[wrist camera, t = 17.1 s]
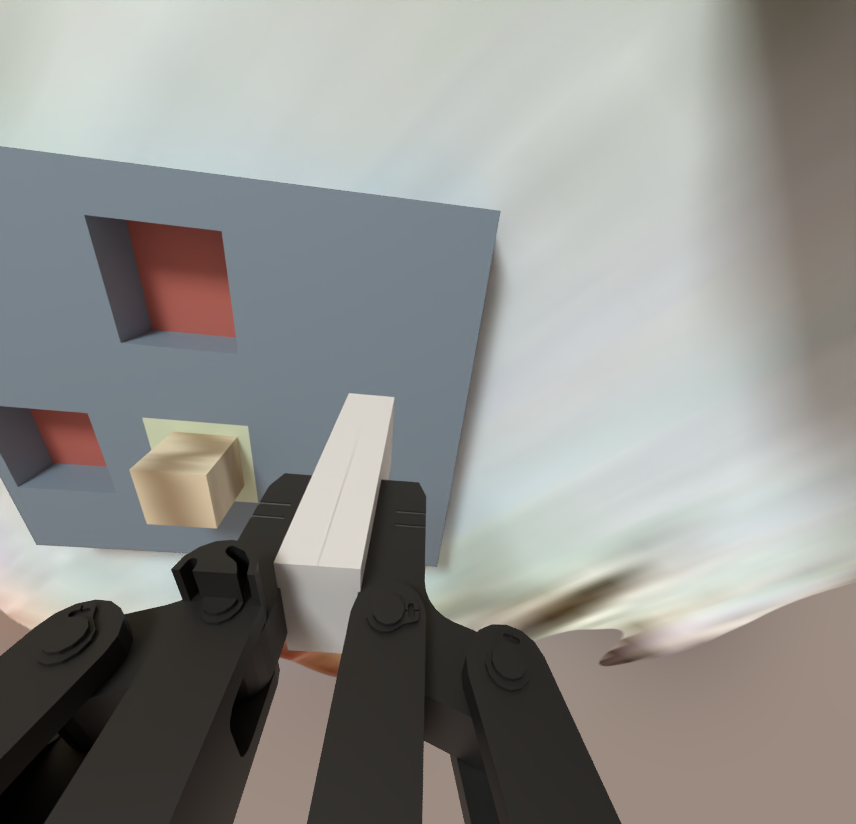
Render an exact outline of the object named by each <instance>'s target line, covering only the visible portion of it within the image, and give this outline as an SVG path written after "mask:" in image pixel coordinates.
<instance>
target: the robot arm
mask: <svg viewBox="0 0 856 824" xmlns="http://www.w3.org/2000/svg"><path fill="white" fill-rule="evenodd" d="M394 398H395V397H388V396H376V395H364V394H353V393H349V394H348V396H347V399H346V401H345V403H344V405H343V408H342V410H341V412H340V414H339V417H338V419H337V421H336V423H335V426H334V428H333V430H332V432H331V435H330V437H329V439H328V441H327V444H326V446H325V448H324V450H323V453H322V455H321V457H320V459H319V462H318V464H317V466H316V468H315V471H314V473H313V475H302V474H289V473H284V474H283V475H282V476H281V477H279V478H278V479H277V480H276V481H274V482H273V483H272V484H271V485H269V487H268V489H267V490H266V492H265V494H264V495H263V497H262V499H261V501H260V504H258V506H257V507H256V509H255V511H254V513H253V516H252V518H250V519H249V521H248V523H247V525H246V526H245V528H244V530H243V532H242V533H241V535H240V537H239V538H238V540H237V541H236V540H222V541H215V542H212V543H209V544H206V545H203V546H200V547H198V548H197V549H195V550H193V551H192V552H190V553H189V554H187V555H185V556H184V557H183V558H182V559H181V560H180V561H179V562H178V563H177V564H176V565H175V566H174V567H173V568H172V569H171V570H172V573H173V575H174V578H175V581H176V583H177V586H178V589H179V591H180V594H181V596H182V599H183V600H181V601H178V602H175V603H172V604H168V605H165V606H160V607H156V608H151V609H147V610H142V611H138V612H133V613H129V614H123V612H122V610H121V608H120V607H118V606H117V605H116V604H114V603H113V602H112V601H104V600H92V601H87V602H82V603H78V604H75V605H73V606H71V607H68V608H66V609H64V610H62V611H59V612H57V613H55V614H54V615H52V616H51V617H49V618H48V619H46V620H45V621H43V622H42V623H41V624H39V625H38V626H36V627H35V628H34V629H32V630H31V631H30V632H29V633H28V634H26V635H25V636H24V637H23V638H22V639H21V640H19V641H18V642H17V643H16V644H14V645H13V646H12V647H11V648H9V649H8V650H7V651H6V652H5V653H3V654H2V655H1V656H0V824H233V822H234V819H235V815H236V812H237V809H238V806H239V803H240V800H241V797H242V793H243V791H244V787H245V784H246V781H247V778H248V775H249V772H250V769H251V766H252V763H253V759H254V756H255V753H256V750H257V747H258V744H259V741H260V737H261V734H262V731H263V728H264V725H265V722H266V719H267V716H268V713H269V709H270V706H271V703H272V700H273V697H274V694H275V691H276V688H277V685H278V679H279V672H280V669H279V664H278V660H279V657H280V654H281V651H282V648H283V645H284V642H285V639H287V645H288V650H294V651H311V652H327V653H342V655H341V660H340V665H339V670H338V675H337V680H336V685H335V690H334V694H333V700H332V704H331V709H330V714H329V719H328V723H327V728H326V733H325V739H324V743H323V748H322V753H321V758H320V763H319V768H318V773H317V777H316V782H315V787H314V792H313V797H312V802H311V806H310V811H309V816H308V821H307V824H422V800H423V798H422V797H423V748H424V746H423V745H424V744H423V743H424V741H426V742H428V743H430V744H432V745H434V746H436V747H437V748H439V749H441V750H443V751H445V752H447V753H449V754H450V757H451V762H452V766H453V771H454V775H455V780H456V785H457V789H458V794H459V799H460V803H461V808H462V813H463V818H464V822H465V824H621V822H620V820H619V818H618V815H617V813H616V811H615V809H614V807H613V805H612V802H611V800H610V799H609V796H608V794H607V792H606V789H605V787H604V785H603V783H602V781H601V779H600V776H599V774H598V772H597V770H596V768H595V766H594V763H593V761H592V759H591V757H590V755H589V753H588V751H587V748H586V746H585V744H584V742H583V740H582V738H581V735H580V733H579V731H578V729H577V727H576V725H575V722H574V720H573V718H572V716H571V714H570V712H569V710H568V707H567V705H566V703H565V701H564V699H563V696H562V694H561V692H560V690H559V688H558V686H557V684H556V681H555V679H554V677H553V675H552V673H551V671H550V668H549V666H548V664H547V662H546V660H545V657H544V656H543V654H542V653H541V652H540V650H539V648H538V647H537V645H536V644H535V642H534V641H533V640H531V639H530V638H529V637H528V636H527V635H526V634H524V633H523V632H522V631H520V630H518V629H515V628H513V627H511V626H508V625H490V626H487V627H485V628H483V629H480V630H479V631H478V632H476V631H474V630H471V629H469V628H466V627H464V626H462V625H459V624H457V623H454V622H453V621H451V620H449V619H447V618H445V617H444V616H443V615H442V614H440V613H439V612H438V611H437V610H436V609H435V608H434V606H433V605H432V603H431V602H430V600H429V598H428V595H427V593H426V589H425V539H426V495H425V493H424V491H423V489H422V487H421V485H420V483H419V482H407V481H394V480H388V479H389V473H390V467H391V455H392V436H393V417H394Z"/></svg>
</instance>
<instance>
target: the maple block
mask: <svg viewBox="0 0 856 824" xmlns="http://www.w3.org/2000/svg"><path fill="white" fill-rule="evenodd" d="M129 470H130V473H131V477H132V480H133V483H134V486H135V489H136V492H137V495H138V498H139V501H140V504H141V507H142V511H143V514H144V517H145V520H146V523H147V524H153V525H169V526H185V527H201V528H218V526H219V525H220V523H221V521H222V520H223V518H224V517H225V515H226V514H227V512H228V511H229V509H230V507H231V506H232V504H233V503H234V501H235V500H236V498H237V496H238V495H239V493H240V492H241V490H242V489H243V487H244V479H243V472H242V465H241V458H240V452H239V445H238V438H237V437H234V436H222V435H209V434H197V433H185V432H173V431H172V432H171V433H170V434H169V435H168V436H167V437H166V438H165V439H163V440H162V441H161V442H160V443H159V444H158V445H157V446H155V447H154V448H153V449H152V450H151V451H150V452H149V453H148V454H146V455H145V456H144V457H143V458H142V459H141V460H140V461H138V462H137V463H136V464H135V465H134V466H133V467H132V468H131V469H129Z"/></svg>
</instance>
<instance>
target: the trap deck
mask: <svg viewBox="0 0 856 824" xmlns="http://www.w3.org/2000/svg"><path fill="white" fill-rule="evenodd" d="M499 217H500V211H497V210H489V209H481V208H473V207H466V206H458V205H450V204H443V203H435V202H427V201H419V200H412V199H404V198H396V197H388V196H381V195H373V194H365V193H357V192H350V191H342V190H334V189H326V188H319V187H311V186H303V185H295V184H288V183H280V182H272V181H264V180H257V179H249V178H241V177H233V176H226V175H218V174H210V173H203V172H195V171H187V170H179V169H172V168H164V167H156V166H148V165H141V164H133V163H125V162H117V161H110V160H102V159H94V158H86V157H79V156H71V155H63V154H55V153H48V152H40V151H32V150H24V149H17V148H9V147H1V146H0V478H1V479H2V481H3V483H4V485H5V487H6V489H7V491H8V492H9V494H10V496H11V498H12V500H13V502H14V504H15V506H16V507H17V509H18V511H19V513H20V515H21V517H22V519H23V520H24V522H25V524H26V526H27V528H28V530H29V532H30V533H31V535H32V537H33V539H34V541H35V543H36V545H50V546H69V547H87V548H105V549H123V550H142V551H160V552H178V553H190V552H192V551H193V550H195V549H197V548H198V547H200V546H203V545H206V544H209V543H212V542H215V541H222V540H236V541H237V540H238V538H239V537H240V535H241V533H242V532H243V530H244V528H245V526H246V525H247V523H248V521H249V519H250V518H252V516H253V513H254V511H255V509H256V507H257V506H258V504H260V501H261V499H262V497H263V495H264V494H265V492H266V490H267V489H268V487H269V485H271V484H272V483H273V482H274V481H276V480H277V479H278V478H279V477H281V476H282V475H283V474H284V473H289V474H302V475H313V473H314V471H315V468H316V466H317V464H318V462H319V459H320V457H321V455H322V453H323V450H324V448H325V446H326V444H327V441H328V439H329V437H330V435H331V432H332V430H333V428H334V426H335V423H336V421H337V419H338V417H339V414H340V412H341V410H342V408H343V405H344V403H345V401H346V399H347V396H348V394H349V393H353V394H364V395H376V396H388V397H395V398H394V417H393V436H392V455H391V467H390V473H389V479H388V480H394V481H407V482H419V483H420V485H421V487H422V489H423V491H424V493H425V495H426V539H425V566H434V567H437V564H438V558H439V553H440V547H441V542H442V536H443V530H444V525H445V519H446V514H447V508H448V502H449V497H450V491H451V486H452V480H453V474H454V469H455V463H456V457H457V452H458V446H459V441H460V435H461V429H462V424H463V418H464V413H465V407H466V401H467V396H468V390H469V385H470V379H471V373H472V368H473V362H474V357H475V351H476V345H477V340H478V334H479V329H480V323H481V317H482V312H483V306H484V301H485V295H486V289H487V284H488V278H489V273H490V267H491V261H492V256H493V250H494V245H495V239H496V233H497V228H498V222H499ZM172 431H173V432H185V433H197V434H209V435H222V436H234V437H237V438H238V445H239V452H240V458H241V465H242V472H243V479H244V487H243V489H242V490H241V492H240V493H239V495H238V496H237V498H236V500H235V501H234V503H233V504H232V506H231V507H230V509H229V511H228V512H227V514H226V515H225V517H224V518H223V520H222V521H221V523H220V525H219V526H218V528H201V527H185V526H169V525H153V524H147V523H146V520H145V517H144V514H143V511H142V507H141V504H140V501H139V498H138V495H137V492H136V489H135V486H134V483H133V480H132V477H131V473H130V470H129V469H131V468H132V467H133V466H134V465H135V464H136V463H137V462H138V461H140V460H141V459H142V458H143V457H144V456H145V455H146V454H148V453H149V452H150V451H151V450H152V449H153V448H154V447H155V446H157V445H158V444H159V443H160V442H161V441H162V440H163V439H165V438H166V437H167V436H168V435H169V434H170V433H171V432H172Z"/></svg>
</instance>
